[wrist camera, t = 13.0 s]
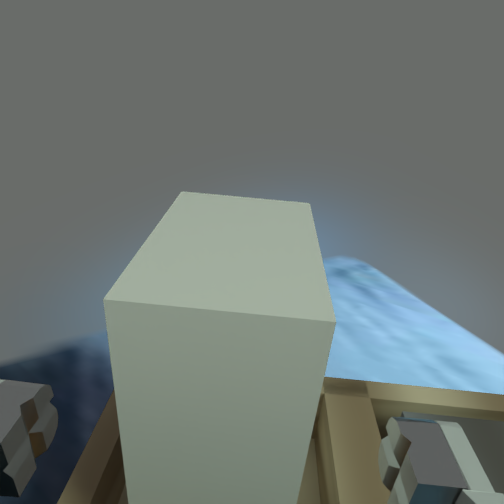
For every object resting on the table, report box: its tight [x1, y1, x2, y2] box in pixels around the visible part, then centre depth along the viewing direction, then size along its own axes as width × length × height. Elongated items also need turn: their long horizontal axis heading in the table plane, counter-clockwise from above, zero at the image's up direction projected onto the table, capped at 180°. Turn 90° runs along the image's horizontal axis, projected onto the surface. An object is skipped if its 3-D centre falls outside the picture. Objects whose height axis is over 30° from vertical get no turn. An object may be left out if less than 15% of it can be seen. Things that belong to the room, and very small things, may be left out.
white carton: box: [103, 192, 336, 504], centre depth 12 cm, size 4×6×12 cm
